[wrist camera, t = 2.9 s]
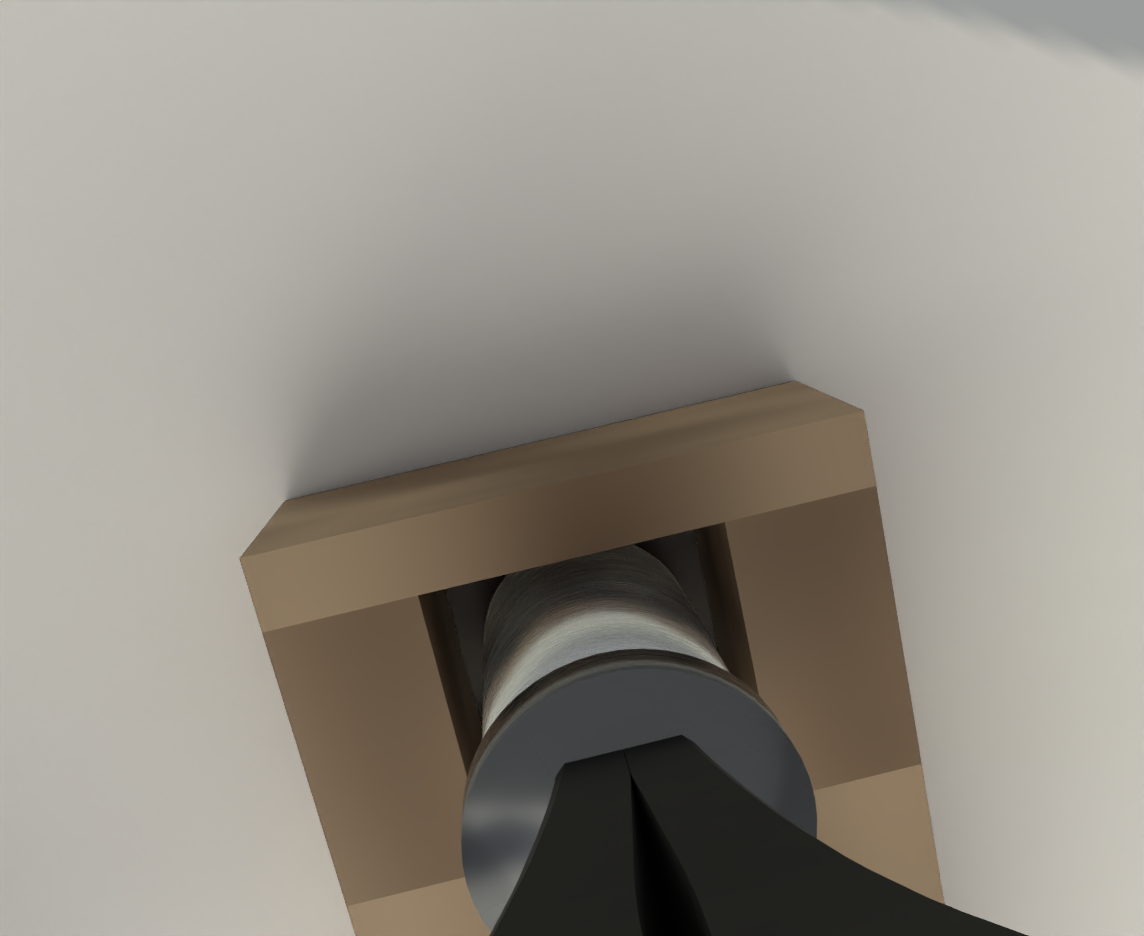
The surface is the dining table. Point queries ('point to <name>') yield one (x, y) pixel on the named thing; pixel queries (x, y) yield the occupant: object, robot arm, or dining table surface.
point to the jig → (569, 530)
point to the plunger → (602, 703)
